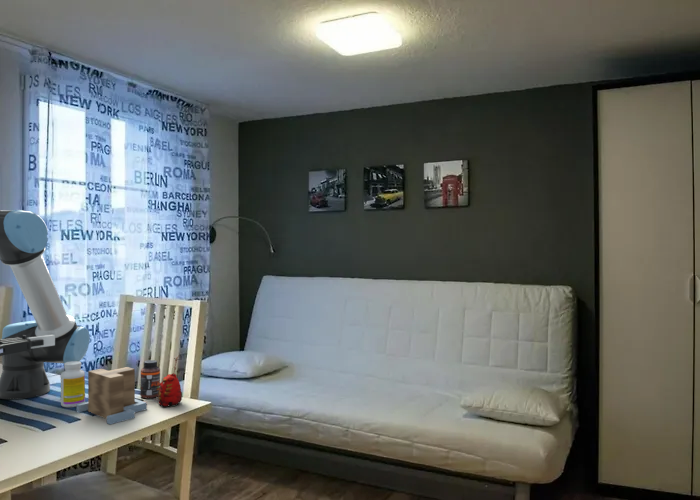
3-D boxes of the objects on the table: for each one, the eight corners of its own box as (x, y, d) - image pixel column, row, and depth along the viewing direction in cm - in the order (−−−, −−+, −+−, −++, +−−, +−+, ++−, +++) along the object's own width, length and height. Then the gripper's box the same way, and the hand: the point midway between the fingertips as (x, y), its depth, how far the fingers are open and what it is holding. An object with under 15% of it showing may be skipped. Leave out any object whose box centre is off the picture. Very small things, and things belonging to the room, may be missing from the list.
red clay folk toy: (155, 402, 177) (156, 354, 176) (178, 399, 180) (179, 352, 180) (160, 409, 170) (161, 359, 170) (184, 406, 174) (185, 357, 173)
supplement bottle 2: (153, 399, 180) (153, 363, 179) (136, 398, 181) (136, 362, 180) (163, 394, 185) (163, 359, 185) (146, 393, 187) (146, 358, 186)
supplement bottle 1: (88, 404, 173) (88, 362, 173) (65, 409, 169) (65, 366, 168) (79, 400, 178) (79, 359, 178) (57, 404, 173) (57, 362, 173)
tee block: (88, 411, 167) (88, 371, 166) (119, 403, 175) (119, 364, 174) (110, 420, 160) (110, 377, 159) (142, 411, 168) (142, 371, 167)
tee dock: (76, 411, 167) (76, 404, 167) (120, 400, 178) (120, 394, 178) (109, 424, 156) (109, 417, 156) (154, 411, 167) (154, 405, 167)
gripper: (-59, 365, 137) (41, 351, 156) (-38, 373, 130) (65, 357, 149) (-59, 334, 137) (41, 323, 156) (-38, 340, 130) (65, 328, 149)
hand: (53, 339), depth 152 cm, fingers closed
